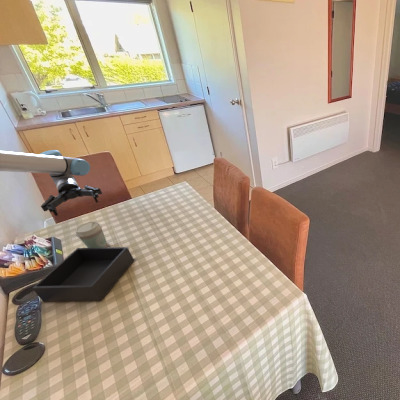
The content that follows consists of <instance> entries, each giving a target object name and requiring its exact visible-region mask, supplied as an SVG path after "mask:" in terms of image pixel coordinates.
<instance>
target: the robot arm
mask: <svg viewBox="0 0 400 400" xmlns="http://www.w3.org/2000/svg"><path fill="white" fill-rule="evenodd" d="M90 171H91V164H90V162H88V161H87V160H85V159H83V158H75V157H68V156H63V154H62V153H61V152H60V150H57V149H50V150H45V151H43V152H40V153H39V154H36V153H29V152H28V153H26V152H17V151H8V150H0V172H11V173H12V172H14V173H33V174H49V176H50V178H51V180H52V182H53V183H54V185H55V187H56V191H57V193H58V194H57V195H52V194H51V195H49V196H48V198H47V199H46V200H45V201H44V202H43V203H42V204H41V205H40V208H41V209H42V211H43V212H47V211H49V213H53V214H54V216H56V217H57V216H59V213H58V210H57V207H58V206H60V205H62V204H63V203H66V202H67V201H69V200H74V199H76V198H83V197H92V198H93V199H94V201H95V203H96V204H97V203H99V200H98V198H100V196H99V195H103V192H102V189H101V188H99V187H94V186H89V185H87V184H85V185H84V187H83V188H81V187H80V186H79V184H78V182H77V179H76V177H75V176H78V177H79V176H81V177H83V176H86V175H88V174H89V173H90Z"/></svg>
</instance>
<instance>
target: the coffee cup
mask: <svg viewBox="0 0 400 400" xmlns="http://www.w3.org/2000/svg"><path fill="white" fill-rule="evenodd" d="M75 236H76V237H78V238H79V239H80V240H81V242H82V243H83V244H84V245H85V246H86V248H109V244H108V242H107V239H106V237H105V233H104V230H103V225H102V224H100V223H99V222H98V221H87V222H84V223H82V224H80V225H78V226H77V227H76V228H75Z"/></svg>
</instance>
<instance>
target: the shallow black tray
mask: <svg viewBox="0 0 400 400" xmlns="http://www.w3.org/2000/svg"><path fill="white" fill-rule="evenodd" d="M133 262H135V259H134V257H133V254H132V253H131V252H130V249H129V247H128V246H119V247H118V246H115V247H114V246H112V247H109V246H108V248H88V247H77V248H76V249H74V250H73V252H71V253H70V254H68V256H67V257H65V258H64V259H63V260H62V261H61V262H59V264H57V266H55V267H54V268H53V269H52V270H51V271H49V272H48V273H47V274H46V275H45V276H44V277H43V278H42V279H40V280H39V281H38V282H37V283H36V284H35V285H34V286H33V287H31V289H32V290H33V291H34V292H35V293H36V295H37V296H38V297H39V298H40V300H41V301H42V302H43V303H55V302H56V303H57V302H58V303H59V302H61V303H62V302H97V301H98V302H101V301H102V300H103V299H104V298H105V296H106V295H107V294H108V293H109V292H110V291H111V289H112V288H113V287H114V286H115V284H116V283H117V282H118V281H119V279H120V278H121V277H122V275H124V273H126V271H127V270H128V269H129V267H130V266H131V265H132V264H133Z"/></svg>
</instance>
